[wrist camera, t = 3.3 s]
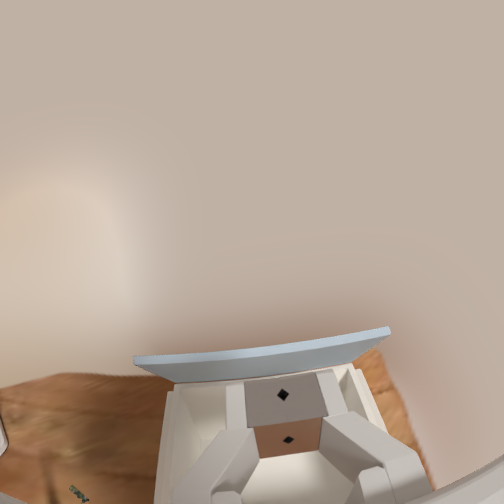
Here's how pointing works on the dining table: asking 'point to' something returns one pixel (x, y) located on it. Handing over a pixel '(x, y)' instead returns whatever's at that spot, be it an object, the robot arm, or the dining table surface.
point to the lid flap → (262, 358)
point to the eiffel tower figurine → (79, 494)
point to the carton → (268, 469)
